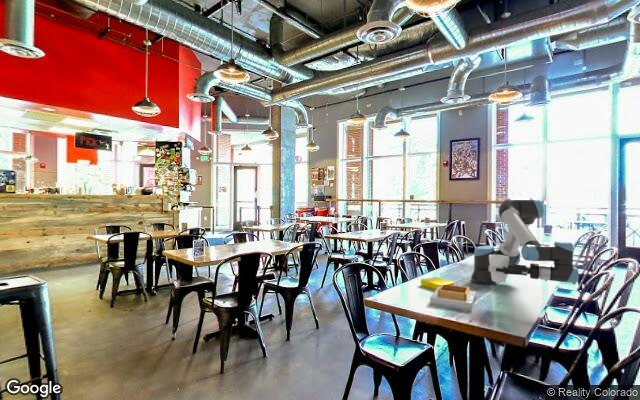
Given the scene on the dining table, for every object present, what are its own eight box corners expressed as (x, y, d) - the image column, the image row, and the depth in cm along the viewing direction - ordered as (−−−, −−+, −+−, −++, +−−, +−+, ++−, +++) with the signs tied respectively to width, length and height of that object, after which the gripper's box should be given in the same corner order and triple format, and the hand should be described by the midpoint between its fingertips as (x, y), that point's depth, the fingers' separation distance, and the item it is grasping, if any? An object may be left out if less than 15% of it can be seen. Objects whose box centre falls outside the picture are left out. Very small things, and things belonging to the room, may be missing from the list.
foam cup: (492, 277, 186) (492, 253, 186) (511, 280, 180) (511, 256, 179) (485, 280, 180) (486, 256, 179) (505, 284, 173) (505, 258, 173)
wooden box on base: (438, 293, 200) (438, 281, 200) (476, 298, 191) (476, 285, 190) (430, 304, 179) (430, 291, 179) (471, 311, 170) (472, 297, 170)
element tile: (438, 292, 203) (438, 284, 203) (419, 286, 216) (419, 278, 216) (455, 288, 211) (455, 281, 211) (435, 283, 224) (435, 275, 224)
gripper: (540, 284, 161) (487, 278, 172) (537, 274, 181) (490, 269, 191) (541, 268, 161) (488, 263, 172) (538, 260, 180) (490, 256, 191)
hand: (489, 266), depth 182 cm, fingers closed on foam cup, 9 cm apart
